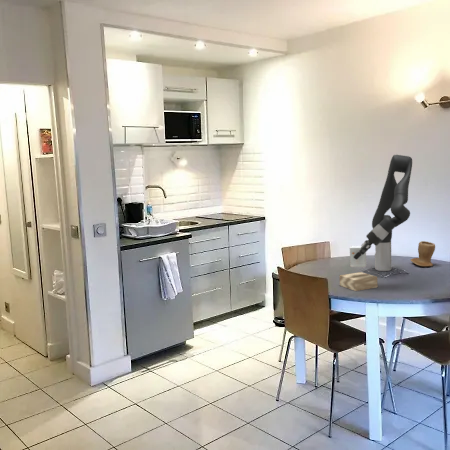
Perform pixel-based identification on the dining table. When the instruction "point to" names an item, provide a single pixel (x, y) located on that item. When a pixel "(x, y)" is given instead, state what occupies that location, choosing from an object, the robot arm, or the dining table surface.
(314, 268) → the dining table surface
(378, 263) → the robot arm
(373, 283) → the oak block
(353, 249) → the small box
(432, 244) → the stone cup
